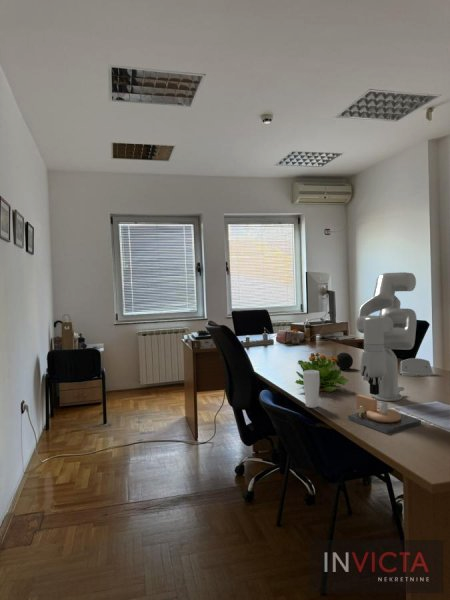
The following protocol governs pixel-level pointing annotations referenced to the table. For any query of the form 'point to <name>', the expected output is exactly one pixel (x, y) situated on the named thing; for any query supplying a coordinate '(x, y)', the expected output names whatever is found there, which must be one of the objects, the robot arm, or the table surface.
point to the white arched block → (415, 367)
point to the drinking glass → (311, 387)
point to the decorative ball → (344, 360)
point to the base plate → (384, 426)
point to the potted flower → (323, 372)
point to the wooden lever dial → (373, 412)
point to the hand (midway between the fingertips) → (374, 393)
